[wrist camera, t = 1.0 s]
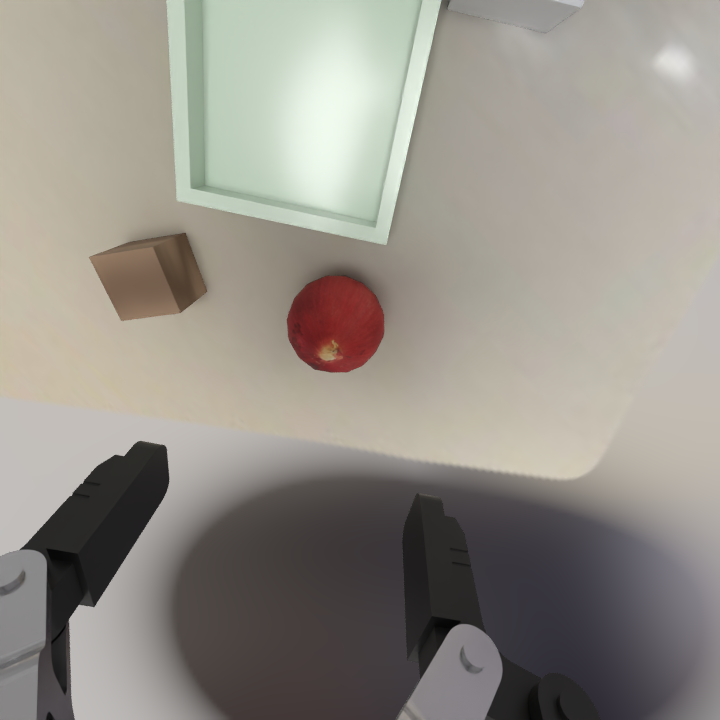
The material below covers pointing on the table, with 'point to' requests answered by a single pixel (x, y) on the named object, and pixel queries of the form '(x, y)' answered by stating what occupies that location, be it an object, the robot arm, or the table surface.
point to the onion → (335, 324)
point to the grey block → (520, 11)
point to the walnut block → (150, 276)
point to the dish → (297, 107)
